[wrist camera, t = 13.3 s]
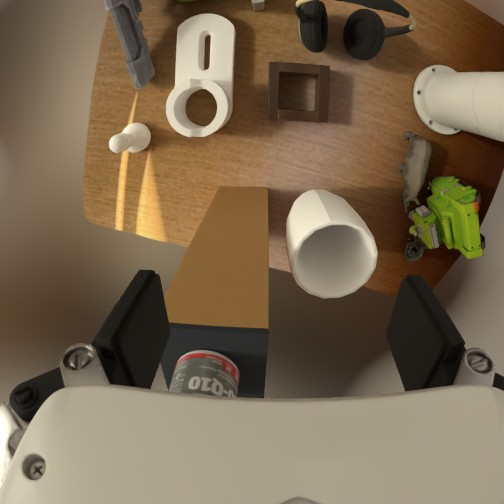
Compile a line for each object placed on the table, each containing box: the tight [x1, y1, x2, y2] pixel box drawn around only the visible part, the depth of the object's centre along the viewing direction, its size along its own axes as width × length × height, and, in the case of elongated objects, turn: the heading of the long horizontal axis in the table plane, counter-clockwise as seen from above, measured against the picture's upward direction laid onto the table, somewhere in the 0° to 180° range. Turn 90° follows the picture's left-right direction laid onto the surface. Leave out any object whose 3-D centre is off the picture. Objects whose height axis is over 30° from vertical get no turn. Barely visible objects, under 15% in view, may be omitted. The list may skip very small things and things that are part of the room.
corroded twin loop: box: [405, 236, 428, 262], centre depth 53 cm, size 5×8×1 cm, turn 146°
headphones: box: [294, 0, 416, 60], centre depth 29 cm, size 9×15×20 cm, turn 87°
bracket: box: [166, 14, 236, 137], centre depth 39 cm, size 20×9×7 cm, turn 178°
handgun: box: [103, 0, 155, 89], centre depth 35 cm, size 3×22×15 cm
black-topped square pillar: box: [160, 187, 269, 398], centre depth 37 cm, size 8×8×35 cm
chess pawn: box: [109, 123, 151, 153], centre depth 43 cm, size 5×5×9 cm
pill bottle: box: [169, 350, 239, 397], centre depth 18 cm, size 5×5×8 cm
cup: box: [286, 190, 378, 298], centre depth 41 cm, size 10×10×22 cm
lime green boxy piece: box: [407, 175, 485, 259], centre depth 45 cm, size 13×16×14 cm
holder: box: [268, 62, 330, 123], centre depth 41 cm, size 9×9×4 cm
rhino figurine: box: [398, 131, 431, 213], centre depth 45 cm, size 4×14×6 cm, turn 177°
